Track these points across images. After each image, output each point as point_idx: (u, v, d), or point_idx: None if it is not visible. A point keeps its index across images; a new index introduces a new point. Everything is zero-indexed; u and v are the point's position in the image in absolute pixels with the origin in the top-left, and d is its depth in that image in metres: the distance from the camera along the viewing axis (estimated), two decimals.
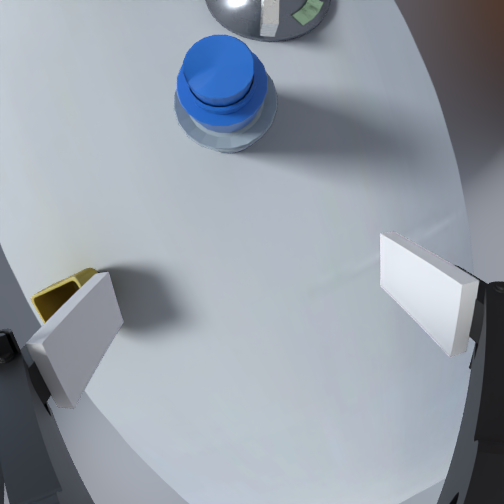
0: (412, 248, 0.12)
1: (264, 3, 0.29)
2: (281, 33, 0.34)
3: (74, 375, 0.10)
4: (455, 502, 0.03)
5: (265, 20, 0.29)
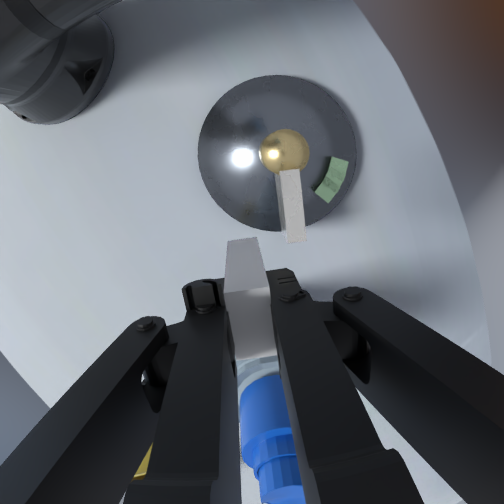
0: (249, 253, 0.14)
1: (285, 214, 0.30)
2: None
3: None
4: None
5: (290, 239, 0.30)
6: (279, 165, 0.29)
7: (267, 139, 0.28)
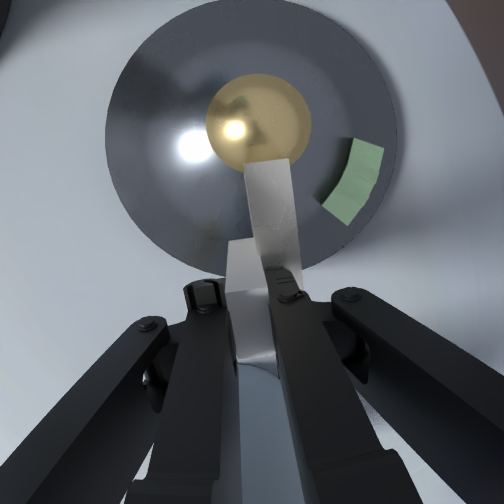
0: (248, 254, 0.14)
1: None
2: (303, 257, 0.19)
3: None
4: None
5: None
6: (244, 152, 0.13)
7: (217, 97, 0.12)
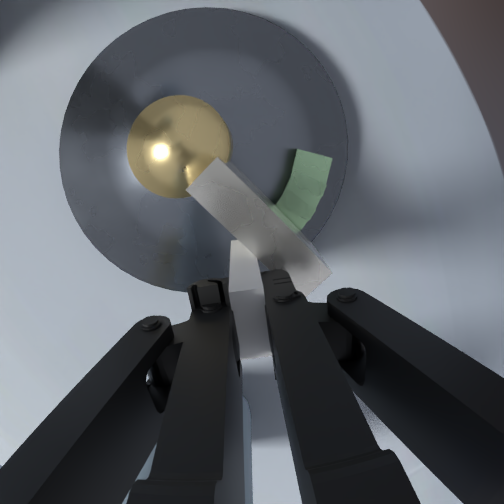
0: (244, 254, 0.14)
1: (258, 255, 0.13)
2: None
3: None
4: None
5: (300, 291, 0.14)
6: (182, 177, 0.13)
7: (129, 151, 0.13)
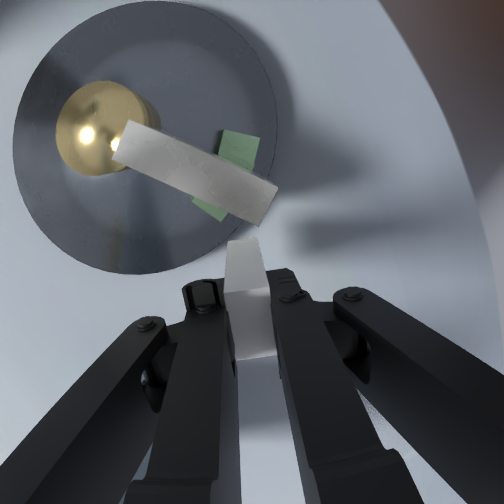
0: (249, 253, 0.14)
1: (197, 194, 0.13)
2: (178, 254, 0.19)
3: None
4: None
5: (252, 217, 0.13)
6: (109, 152, 0.13)
7: (60, 149, 0.13)
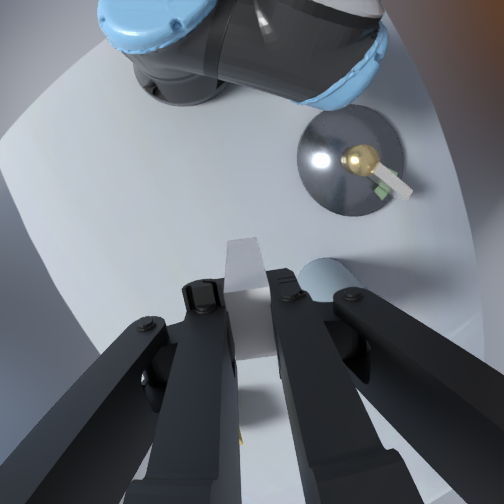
0: (249, 254, 0.14)
1: (394, 188, 0.42)
2: (365, 210, 0.47)
3: None
4: None
5: (406, 197, 0.42)
6: (368, 169, 0.41)
7: (351, 163, 0.41)
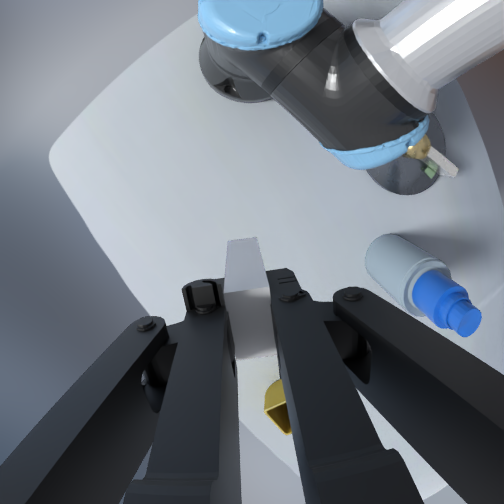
0: (249, 253, 0.14)
1: (444, 168, 0.44)
2: (418, 188, 0.50)
3: None
4: None
5: (453, 175, 0.44)
6: (423, 153, 0.44)
7: (409, 148, 0.44)
